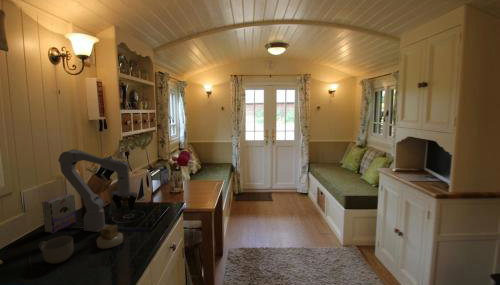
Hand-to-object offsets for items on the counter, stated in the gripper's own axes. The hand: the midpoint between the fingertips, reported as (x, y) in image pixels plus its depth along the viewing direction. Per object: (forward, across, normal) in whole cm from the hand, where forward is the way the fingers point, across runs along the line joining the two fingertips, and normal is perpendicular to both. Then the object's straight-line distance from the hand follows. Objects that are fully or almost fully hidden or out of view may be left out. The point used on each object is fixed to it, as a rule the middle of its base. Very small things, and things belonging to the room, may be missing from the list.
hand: (125, 209), depth 143 cm
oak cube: (+7, +5, -18) cm, 20 cm away
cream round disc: (+10, +5, -18) cm, 21 cm away
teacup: (+10, -7, -35) cm, 37 cm away
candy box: (+10, -33, -9) cm, 36 cm away
